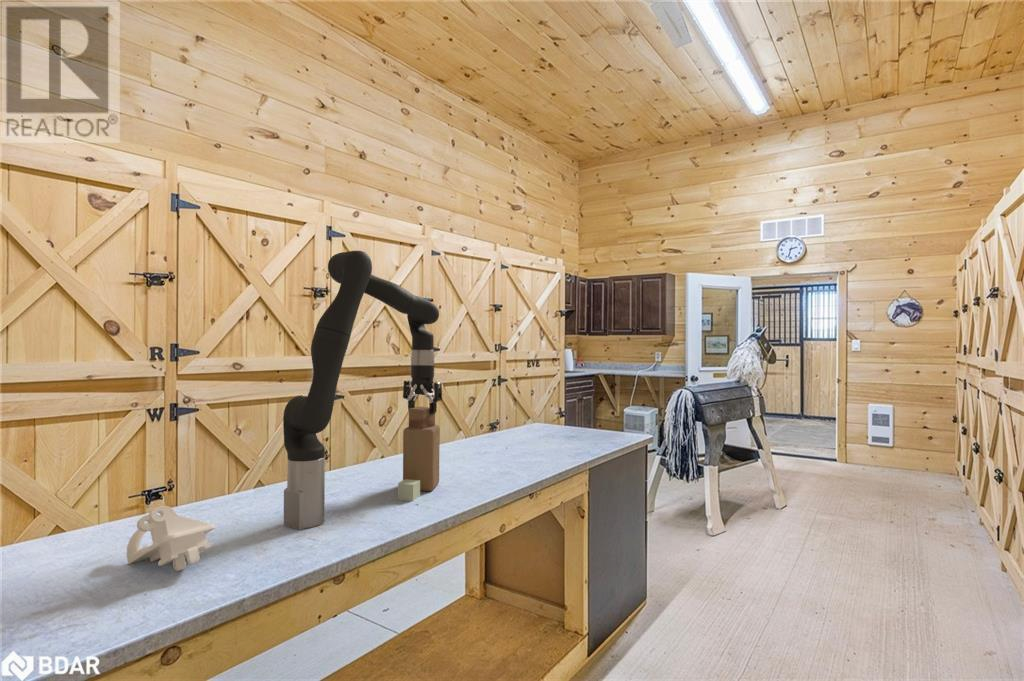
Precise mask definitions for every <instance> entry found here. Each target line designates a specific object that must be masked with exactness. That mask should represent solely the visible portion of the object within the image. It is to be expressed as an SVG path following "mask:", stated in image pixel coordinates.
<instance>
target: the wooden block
mask: <svg viewBox="0 0 1024 681" xmlns="http://www.w3.org/2000/svg"><path fill="white" fill-rule="evenodd" d="M440 433H441V432H440V425H438V424H435V426H432V427H428V428H424V429H423V428H414V427H409V426H407V427H405V428H404V429H403V431H402V481H403V480H405V479H409V480H420V492H433V490H435V488H436V487H437V486H438V485H439V484H440V445H441V444H440V441H441V440H440Z"/></svg>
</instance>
